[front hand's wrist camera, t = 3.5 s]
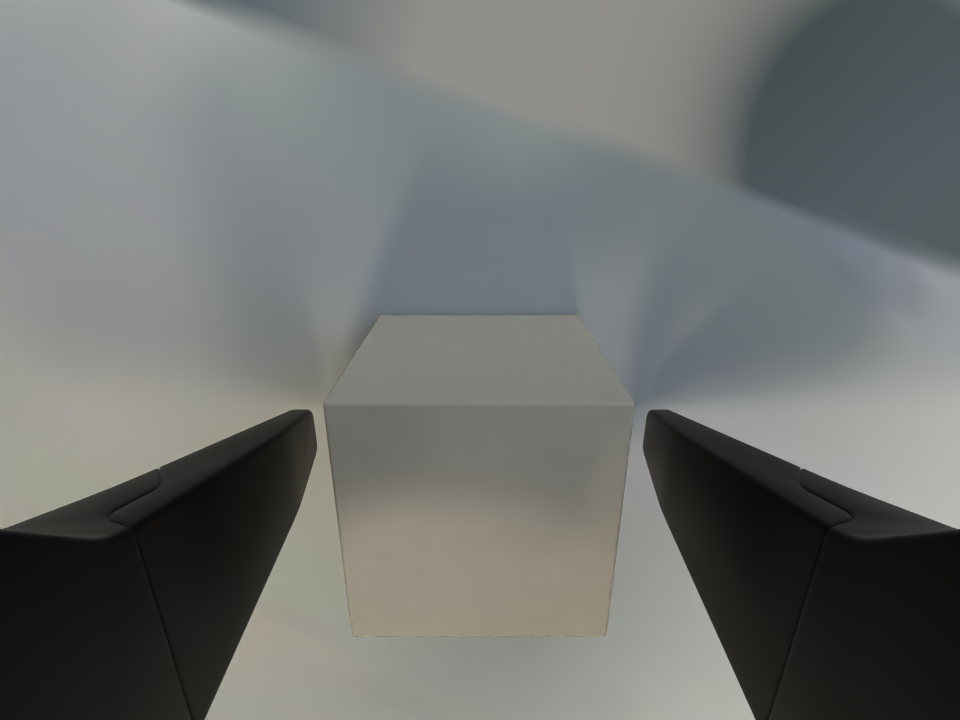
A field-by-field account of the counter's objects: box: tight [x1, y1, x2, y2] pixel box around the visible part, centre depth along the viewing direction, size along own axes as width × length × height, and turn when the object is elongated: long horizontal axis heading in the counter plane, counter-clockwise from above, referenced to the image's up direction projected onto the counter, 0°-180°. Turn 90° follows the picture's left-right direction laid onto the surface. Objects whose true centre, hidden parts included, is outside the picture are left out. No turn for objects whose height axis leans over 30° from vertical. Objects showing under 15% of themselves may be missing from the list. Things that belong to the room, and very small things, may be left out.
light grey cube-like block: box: [323, 315, 635, 637], centre depth 10 cm, size 4×5×4 cm
